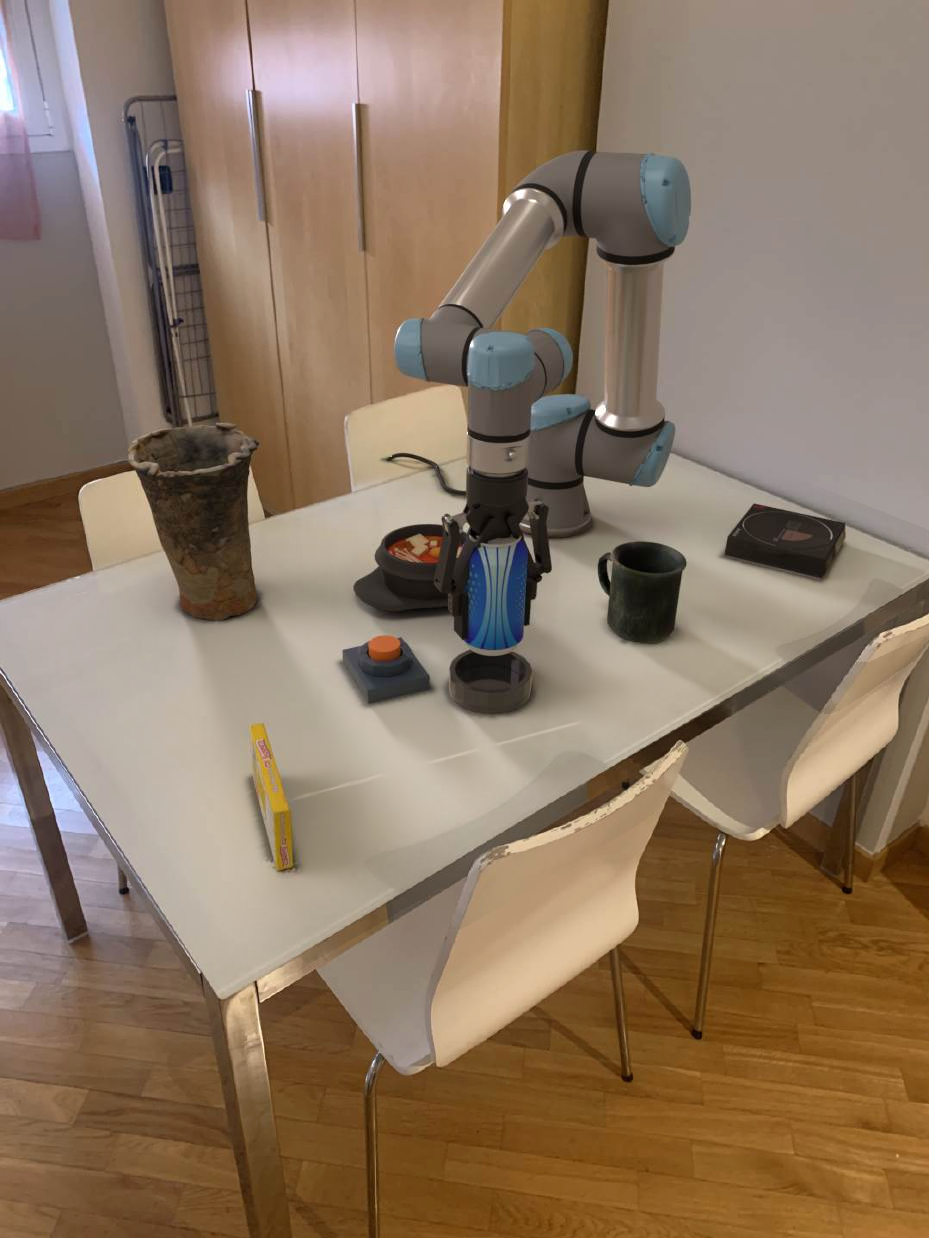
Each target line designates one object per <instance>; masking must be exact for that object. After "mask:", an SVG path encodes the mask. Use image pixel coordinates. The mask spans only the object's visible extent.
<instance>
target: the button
mask: <svg viewBox="0 0 929 1238" xmlns="http://www.w3.org/2000/svg"><path fill="white" fill-rule="evenodd" d="M397 638H398V637H396V636H393V635H389V634H388V635H387V634H386V635H385V634H383V635H377V636H375V637H372V638H371V639H370V640H368V641H369V656H370V658H371V659H373V660H375V661H382V662H388V661H393V660H396V659H397V658H399V657H400V655H401V644H400V641H399V639H397Z"/></svg>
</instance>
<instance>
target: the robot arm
mask: <svg viewBox="0 0 929 1238" xmlns="http://www.w3.org/2000/svg"><path fill="white" fill-rule="evenodd" d="M691 191H692V190H691V182H690V177H689V174H688V170H687V169H686V167H685V165H684V164H683V163H682V161H681V160H679V158H676V157H675V156H665V155H659V154H656V153H651V152H649V153H638V152H637V153H634V152H615V151H614V152H612V151H593V150H584V149H583V150H576V151H575V150H574V151H570V152H567V153H564V154H561V155H558V156H556V157H554V158H552V159H549V160H548V161H547V162H545V163H543V164H541V165H540V166H538V167H537V168H535V169H534V170H533V171H531V172H530V173H529V174H527V175H526V176H525V177H524V178H522V180H521V181H519V183H517V185H516V186H515V187H514V188H513V190H512V191H511V192H510V194H509V195H508V196H507V197H506V199H505V201H504V203H503V206H502V210H501V215H502V216H501V218H500V220H499V221H498V223H497V224H496V225H495V227H494V229H493V230H492V231H491V232H490V233H489V234H488V235H489V236H488V237H487V238H486V240H485V241H484V243H483V244H482V246H481V247H480V248H479V250H478V251H476V254H475V255H474V257H473V258H472V259H471V260H470V262H469V263H468V265H467V266H466V268H465V269H464V271H463V272H462V273H461V275H460V276H459V277H458V278H457V280H456V282H455V283H454V285H453V286H452V288H451V289H450V290H449V292H448V293H447V295H446V296H445V297H444V298H443V300H442V301H441V302H440V304H439V305H438V307H437V309H436V310H435V311H433V313H432V315H431V316H430V317H429V319H425V318H424V317H420V318H409V319H406V320H404V321H403V322H402V323H401V325H400V326H399V328H398V329H397V332H396V335H395V339H394V343H393V356H394V359H395V364H396V367H397V369H398V371H399V372H400V373H401V374H402V375H404V376H405V377H408V378H412V379H417V380H421V381H424V382H427V383H435V384H445V385H450V386H457V387H465V388H467V427H466V428H467V429H466V460H465V461H466V464H467V467H466V471H465V472H466V473H465V475H466V477H465V490H459V489H454V488H452V487H449V486H448V485H446V482H445V479H444V477H443V475H442V473H441V470H440V466H439V465H438V464H437V463H436V462H435V461H433V460H430V459H428V458H426V457H423V456H420V455H417V454H413V453H410V452H396V453H393V454H391V455H392V457H390V456H391V455H389V456H388V457H387V458H386V459H385V461H386V462H391V461H392V460H395V459H397V458H408V459H413V460H416V461H419V462H422V463H425V464H427V465H430V466H431V467H433V468H434V469H435V470H434V471H435V475H436V477H437V479H438V481H439V484H440V487H441V488H442V489H443V490H444V491H445V492H447V493H449V494H452V495H457V496H465V497H466V503H465V506H464V508H463V510H462V512H460V513H457V514H454V515H451V514H449V513H444V514H443V515H442V516H441V525H443V531H444V532H443V537H442V542H441V547H440V552H439V557H438V562H437V567H436V573H435V578H434V585H435V586H436V587H437V588H438V589H439V590H440V591H441V593H443V594H447V593H448V606H447V609H448V612H449V613H450V614H451V616H452V617H453V631H454V632H455V633H456V634H457V636H458V637H459V638H460V639H461V640H462V641H463V640H464V639H467V635H468V594H467V593H466V592H465V591H464V588H465V586H466V584H467V581H468V579H469V564H470V558H471V556H472V554H473V553H474V551H475V549H476V548H480V547H481V543H484V544H487V543H488V541H489V540H493V539H497V538H508V537H510V535H511V534H512V536H513V538H514V539H518V538H519V536H521V540H522V541H523V543H524V544H525V546H526V547H527V550H528V558H527V577H526V596H525V614H524V627H527V626H530V624H531V610H532V609H531V608H532V601H534V600H536V598H537V595H538V583H541V582H542V581H543V576H542V575H543V574H549V573H551V572H552V570H553V565H552V556H551V549H550V543H549V541H550V540H549V538H563V537H564V538H565V537H571V536H575V535H578V534H581V533H582V532H584V531H585V530H587V529H588V528H589V527H590V525H591V516H592V512H591V507H590V503H589V500H588V496H587V491H586V489H585V483H584V481H585V477H587V478H593V479H598V480H604V481H608V482H609V481H610V482H613V483H620V484H624V485H628V486H629V487H633V486H636V487H643V488H650V487H651V488H652V487H653V486H654V485H656V484H657V483H658V482H659V480H660V478H661V477H662V475H663V473H664V471H665V469H666V466H667V464H668V461H669V457H670V455H671V451H672V447H673V444H674V441H675V437H676V436H675V435H676V424H675V423H674V422H672V421H670V420H665V417H666V409H665V406H664V405H663V404H662V402H660V400H658V399H657V393H658V377H659V376H658V375H659V374H658V373H659V360H660V359H659V357H660V356H659V355H660V341H661V340H660V339H661V338H660V337H661V322H662V303H663V302H662V301H663V284H664V266H665V265H664V264H666V262H668V261H669V260H670V259H671V258H672V257H673V256H674V254H675V251H676V247H677V246H680V245H681V244H682V243H683V242H684V241H685V240H686V237H687V234H688V230H689V227H690V226H689V225H690V216H691V214H692V192H691ZM565 237H581V238H590V239H595V243H596V244H595V245H596V247H595V248H596V249H595V250H596V251H595V253H596V254H595V255H596V256H597V258H598V259H599V260H600V261H601V262H602V263H603V264H604V265H605V324H604V325H605V327H604V328H605V329H604V330H605V333H604V334H605V335H604V397H603V398H604V399H603V400H602V401H601V402H599V403H598V405H597V406H596V408H595V409H593V408H592V403H591V401H590V399H589V398H588V397H586V396H584V395H581V394H574V393H573V394H571V393H566V394H565V393H564V394H553V395H552V394H551V395H547V394H549V393H551V392H554V391H555V390H557V388H558V387H559V386H560V385H561V384H562V383H563V381H564V380H566V379H567V378H568V377H569V374H570V372H571V371H572V368H573V362H574V355H573V350H572V347H571V344H570V343H569V341H568V339H567V338H566V337H565V336H564V335H563V334H562V333H561V332H559V331H557V330H556V329H553V328H551V327H540V328H534V329H531V330H529V331H528V332H518V331H511V330H503V329H496V328H495V329H494V327H495V326H496V324H497V323H498V322H499V320H500V318H501V317H502V316H503V314H504V312H505V311H506V309H507V308H508V307H509V305H510V304H511V302H512V300H513V299H514V297H515V296H516V294H517V293H518V291H519V290H520V288H521V287H522V285H523V284H524V282H525V281H526V280H527V277H528V276H529V275H530V273H531V271H532V270H533V269H534V267H535V266H536V264H537V263H538V261H539V259H540V258H541V256H542V255H543V253H544V252H545V251H547V250H551V248H554V247H555V246H556V245H557V244H558V243H559V242H560V240H561V238H565ZM546 395H547V396H546ZM436 466H437V467H436ZM466 523H467V525H468V526H469V527H468V529H467V531H466V533H467V534H466V541H465V543H464V546H463V548H462V550H461V552H460V555H459V557H458V559H457V561H456V557H457V552H458V547H459V542H460V533H462V532H463V531H464V526H465V524H466ZM523 533H525V534H527V535H531V542H532V549H533V555H534V558H533V556H532V554H531V552H530V549H529V547H528V544H527V542H526V541H525V536H524V534H523ZM469 535H470V536H471V537H472V538H473V539H474V540H475V542H473V541H472V540H471V539H470V537H469ZM476 535H478V536H479V538H477V537H476ZM464 553H466V556H465V555H464ZM455 562H456V563H455Z"/></svg>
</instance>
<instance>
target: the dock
mask: <svg viewBox="0 0 929 1238" xmlns="http://www.w3.org/2000/svg"><path fill="white" fill-rule="evenodd" d="M532 683H533V669H532V666H531V663H530V662H529V661H528V660H527V659H526V658H525V657H524V656H523V655H521V654H519V653H518V652H516V651H514V650H513V651H511V652H509V653H507V654H504V655H498V656H487V655H481V654H478V653H476V652H474V651H472V650H471V649H468V650H465V651H464V652H461V653H459V654H458V655H456V656H455V658H453V659H452V661H451V663H450V665H449V667H448V684H449V687H448V689H449V695H450V698H451V699H452V700H453V701H454V703H456V704H457V705H458V706H460V707H461V708H463V709H464V710H467V711H470V712H473V713H477V714H484V715H498V714H499V715H501V714H506V713H509V712H513V711H516V710H518V709H519V708H521V707H523V706H524V705H525V704H526V703H527V702H528V701H529V699H530V697H531V693H532V692H531V691H532Z"/></svg>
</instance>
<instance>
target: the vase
mask: <svg viewBox="0 0 929 1238" xmlns="http://www.w3.org/2000/svg"><path fill="white" fill-rule="evenodd" d="M259 445H260V442H259V440H258V439H256V438H253V437H250V436H248V435H246V433H245V432H244V431H242V430H240V429H239V428H238V424H237V423H230V422H224V423H223V422H216V423H215V425H207V424H203V425H202V424H201V425H187V426H182V427H177V426H176V427H174V428H166V427H164V428H161V429H159V430H155V431H152V432H149V433H145V434H143V435H141V436H140V437H137V438H135V439H134V440H133V441H132V442H131V445H129V447H128V449H127V452H128V464H129V465H131V467H132V468H133V469H134V471H135V473H136V475H137V478H138V479H139V481H140V485H141V488H142V490H143V492H144V494H145V497H146V499H147V502H148V505H149V508H150V511H151V515H152V519H153V523H154V527H155V529H156V533H157V537H158V539H159V542H160V545H161V548H162V550H163V551H164V553H165V556H166V558H167V561H168V563H169V565H170V569H171V570H172V573H173V575H174V578H175V581H176V584H177V586H178V593H179V605H180V608H181V609H182V610H183V611H184V612H185V613H186V614H187V615H190V616H192V617H193V618H196V617H197V618H198V619H202V620H203V619H205V620H207V621H209V620H211V621H222V620H223V621H224V620H225V619H229V618H230V617H231V616H232V617H234V616H236V617H237V616H242V615H243V614H245V613H246V612H249V611H251V609H253V608H254V607H255V605H256V603H257V602H258V591H257V588H256V587H257V586H256V583H255V581H256V580H255V575H254V569H253V565H252V564H253V561H252V560H253V557H252V544H251V535H250V526H249V525H250V523H249V522H250V521H249V502H248V501H249V500H248V488H249V478H250V477H249V476H250V472H251V471H250V467H251V460H252V455H253V453H254V452H255V451H257V450H258V447H259Z"/></svg>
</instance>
